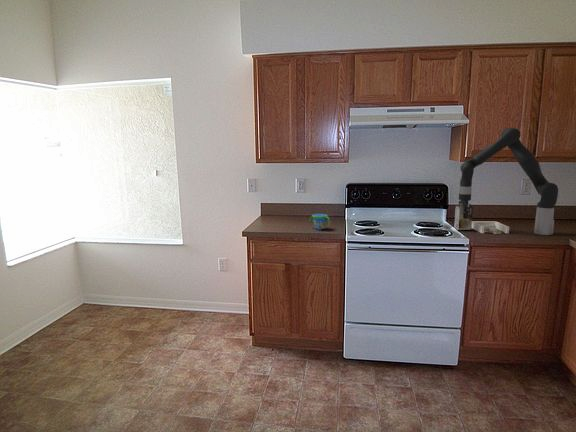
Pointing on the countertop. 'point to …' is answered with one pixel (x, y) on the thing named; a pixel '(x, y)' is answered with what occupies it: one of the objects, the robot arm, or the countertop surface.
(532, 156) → the robot arm
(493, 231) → the offcut middle
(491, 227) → the offcut top
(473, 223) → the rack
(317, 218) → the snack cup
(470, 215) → the coffee box
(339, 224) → the countertop surface
